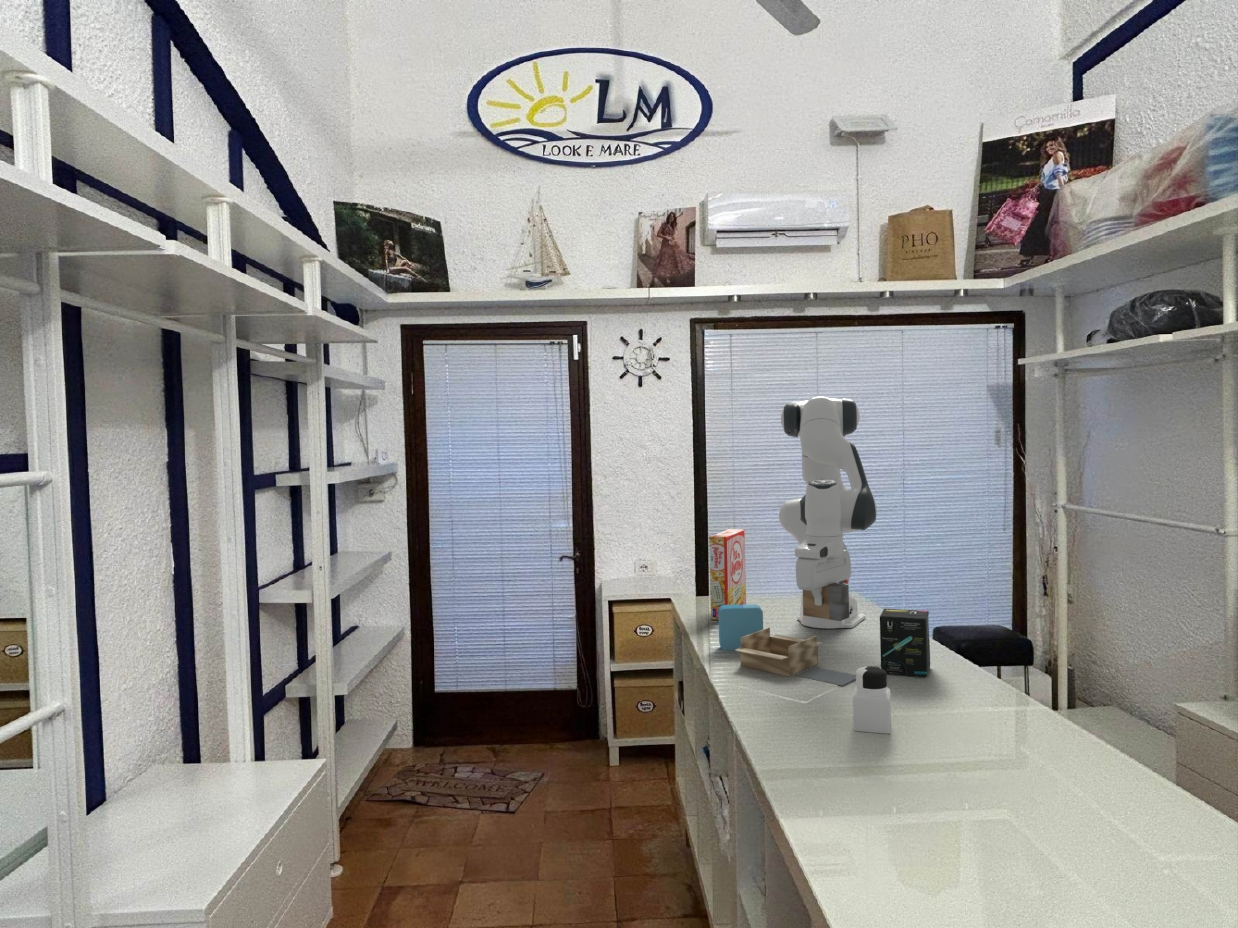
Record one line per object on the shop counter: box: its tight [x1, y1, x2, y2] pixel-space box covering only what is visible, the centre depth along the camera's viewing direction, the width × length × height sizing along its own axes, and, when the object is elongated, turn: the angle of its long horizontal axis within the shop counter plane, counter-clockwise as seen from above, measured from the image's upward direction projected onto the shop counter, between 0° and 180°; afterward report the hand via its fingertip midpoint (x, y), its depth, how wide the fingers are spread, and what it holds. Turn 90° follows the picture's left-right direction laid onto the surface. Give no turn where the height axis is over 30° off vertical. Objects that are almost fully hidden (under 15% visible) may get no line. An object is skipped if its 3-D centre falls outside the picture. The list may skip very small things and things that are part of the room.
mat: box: [794, 665, 856, 688], centre depth 199 cm, size 9×13×1 cm
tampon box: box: [879, 608, 931, 679], centre depth 201 cm, size 11×9×15 cm
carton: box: [734, 627, 822, 677], centre depth 209 cm, size 19×15×8 cm
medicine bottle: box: [852, 665, 892, 735], centre depth 166 cm, size 7×7×12 cm
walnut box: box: [802, 583, 850, 621], centre depth 198 cm, size 4×10×8 cm, turn 46°
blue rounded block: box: [718, 603, 764, 651], centre depth 226 cm, size 12×4×12 cm, turn 87°
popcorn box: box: [708, 528, 747, 621], centre depth 268 cm, size 20×6×27 cm, turn 155°
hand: (825, 602), depth 198 cm, fingers closed on walnut box, 4 cm apart
